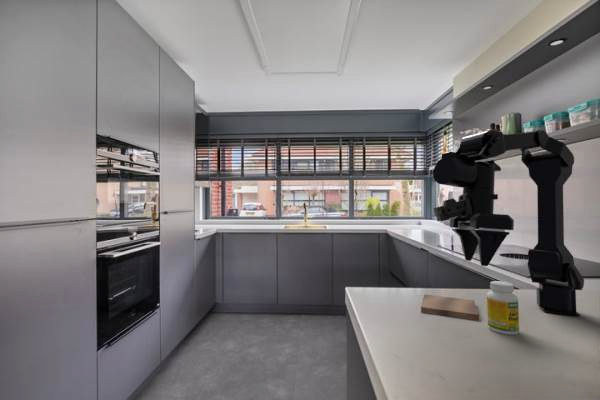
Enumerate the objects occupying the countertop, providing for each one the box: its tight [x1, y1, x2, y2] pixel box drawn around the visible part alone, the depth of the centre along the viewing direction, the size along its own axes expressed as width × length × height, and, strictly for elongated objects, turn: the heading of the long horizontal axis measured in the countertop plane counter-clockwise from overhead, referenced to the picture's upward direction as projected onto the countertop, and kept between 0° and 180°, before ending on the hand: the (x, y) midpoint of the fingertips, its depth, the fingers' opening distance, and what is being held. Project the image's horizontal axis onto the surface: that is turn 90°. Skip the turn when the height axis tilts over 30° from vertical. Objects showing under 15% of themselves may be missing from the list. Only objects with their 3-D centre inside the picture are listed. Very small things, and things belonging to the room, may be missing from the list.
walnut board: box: [420, 294, 479, 321], centre depth 73 cm, size 12×12×1 cm
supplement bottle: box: [486, 280, 520, 336], centre depth 60 cm, size 5×5×10 cm
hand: (475, 263), depth 61 cm, fingers open, 9 cm apart
